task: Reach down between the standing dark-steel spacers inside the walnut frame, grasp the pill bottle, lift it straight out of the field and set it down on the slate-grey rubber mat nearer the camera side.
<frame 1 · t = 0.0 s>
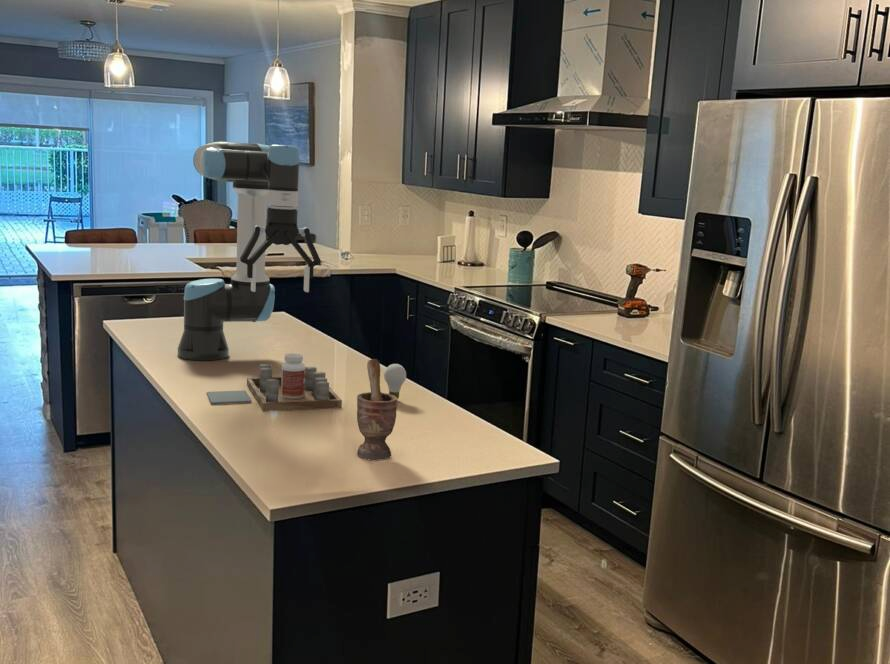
hand: (279, 291, 224), 28 cm above the table, fingers open, 13 cm apart
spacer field: (292, 396, 231), on the table
light bulb: (393, 401, 233), on the table
mortar and pestle: (370, 453, 191), on the table
pill bottle: (292, 396, 231), resting in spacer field
mat: (228, 398, 225), on the table
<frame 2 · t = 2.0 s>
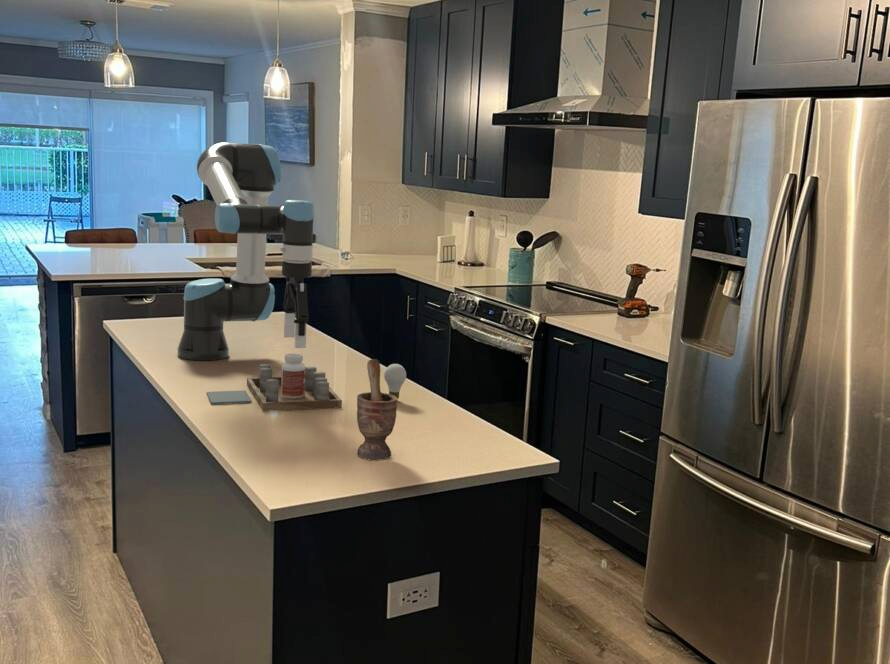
hand: (294, 342, 228), 15 cm above the table, fingers open, 13 cm apart
nothing on the table moved.
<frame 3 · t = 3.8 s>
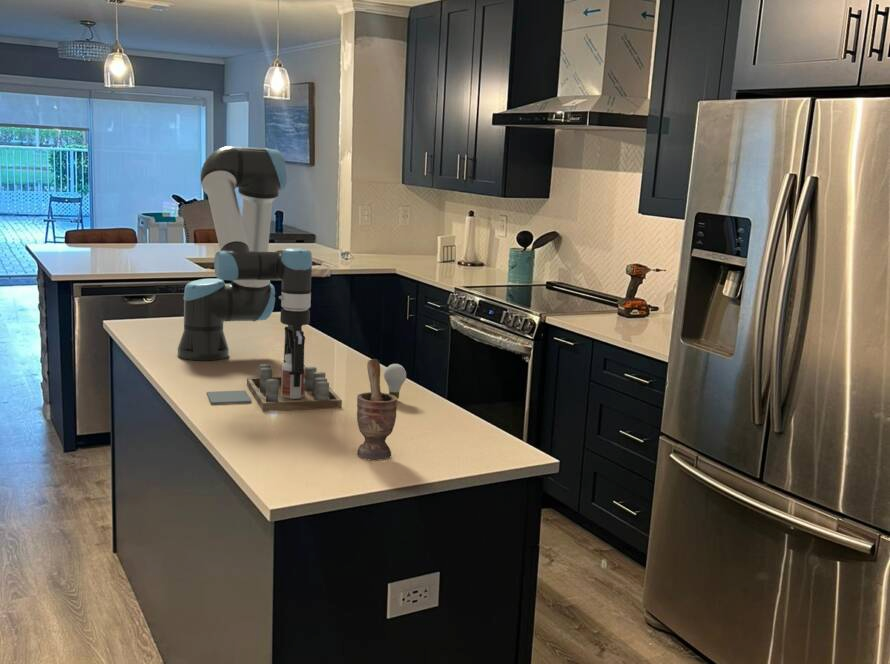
hand: (292, 394, 231), 0 cm above the table, fingers closed on pill bottle, 6 cm apart
pill bottle: (292, 396, 231), resting in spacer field, touching gripper
everything else where it was.
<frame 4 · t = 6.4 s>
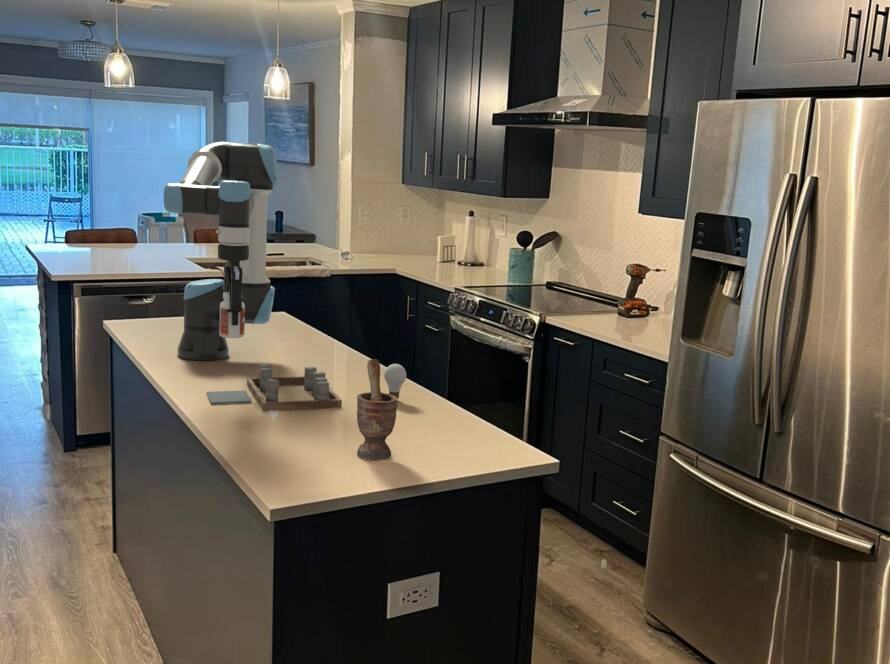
hand: (231, 334, 222), 17 cm above the table, fingers closed on pill bottle, 6 cm apart
pill bottle: (231, 336, 222), point 16 cm above the table, touching gripper
everything else where it was.
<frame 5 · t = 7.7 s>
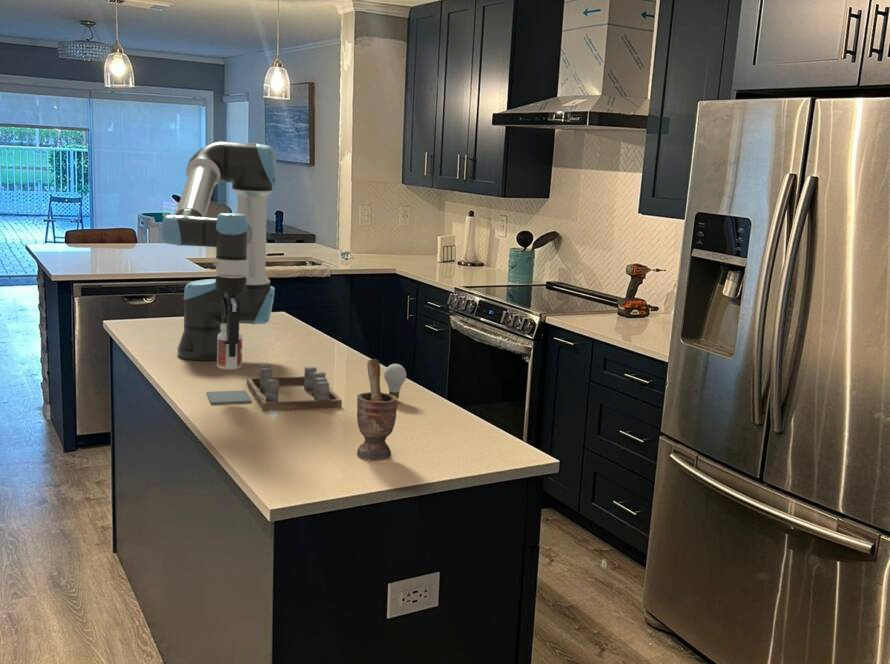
hand: (229, 365, 223), 9 cm above the table, fingers closed on pill bottle, 6 cm apart
pill bottle: (229, 367, 223), point 8 cm above the table, touching gripper
everything else where it was.
when the fingers open (3 cm above the table, at t = 8.9 s): pill bottle drops 2 cm, resting on mat.
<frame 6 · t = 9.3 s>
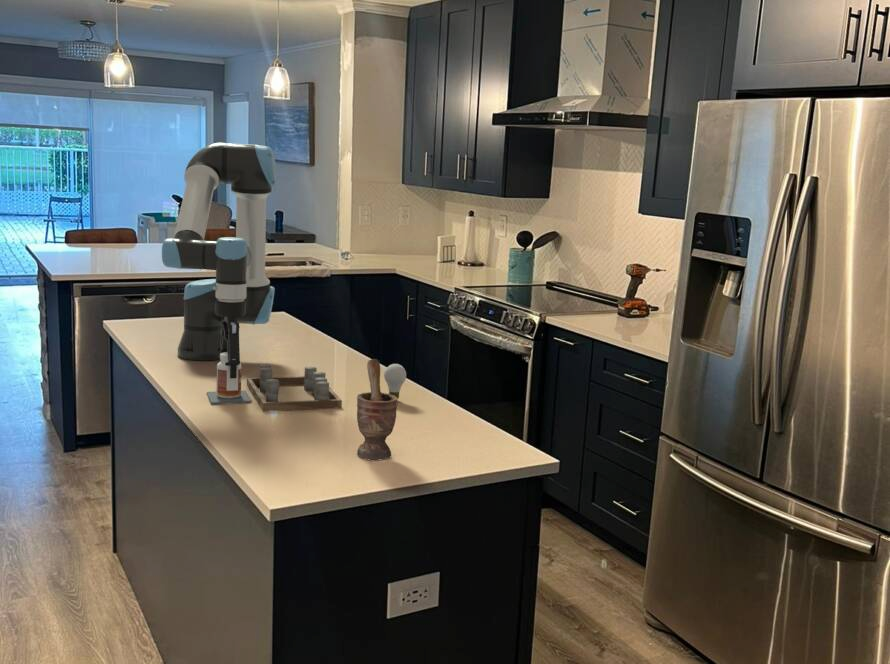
hand: (229, 384, 224), 4 cm above the table, fingers open, 11 cm apart
pill bottle: (228, 396, 225), resting on mat
everything else where it was.
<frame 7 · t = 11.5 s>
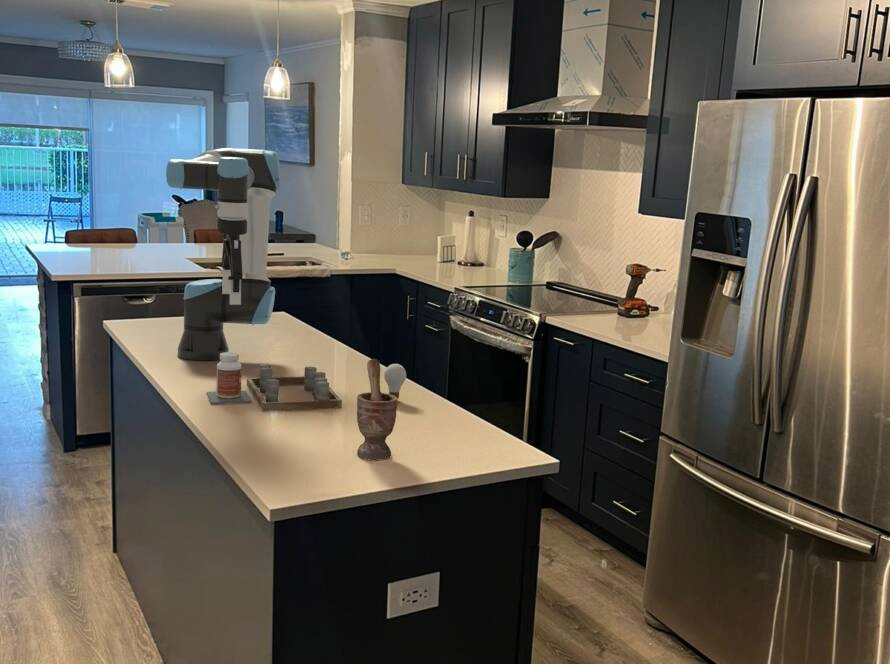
hand: (231, 299, 230), 24 cm above the table, fingers open, 13 cm apart
nothing on the table moved.
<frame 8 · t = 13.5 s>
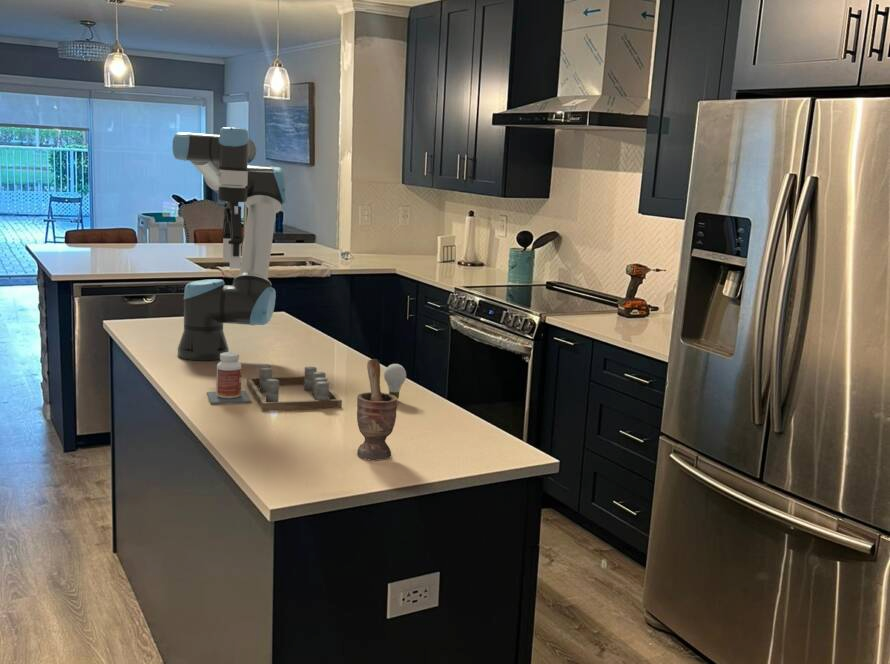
hand: (231, 265, 239), 32 cm above the table, fingers open, 13 cm apart
nothing on the table moved.
at the end: pill bottle inside the target area (0.2 cm from its centre), resting on mat; pill bottle tilted 0°; the gripper is holding nothing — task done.
